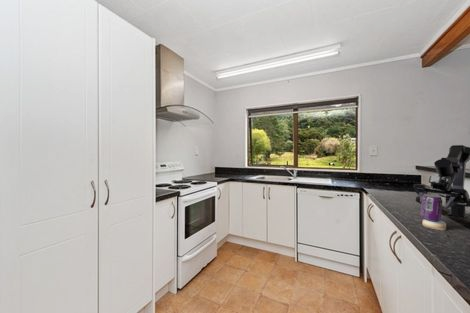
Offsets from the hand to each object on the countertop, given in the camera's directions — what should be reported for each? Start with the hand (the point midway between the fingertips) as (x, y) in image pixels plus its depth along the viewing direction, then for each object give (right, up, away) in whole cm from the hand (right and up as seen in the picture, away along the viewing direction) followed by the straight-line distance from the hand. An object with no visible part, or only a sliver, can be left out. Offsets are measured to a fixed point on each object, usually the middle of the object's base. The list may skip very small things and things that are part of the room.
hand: (433, 205), depth 95 cm
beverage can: (+1, -8, +2) cm, 8 cm away
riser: (+1, -10, +1) cm, 11 cm away
